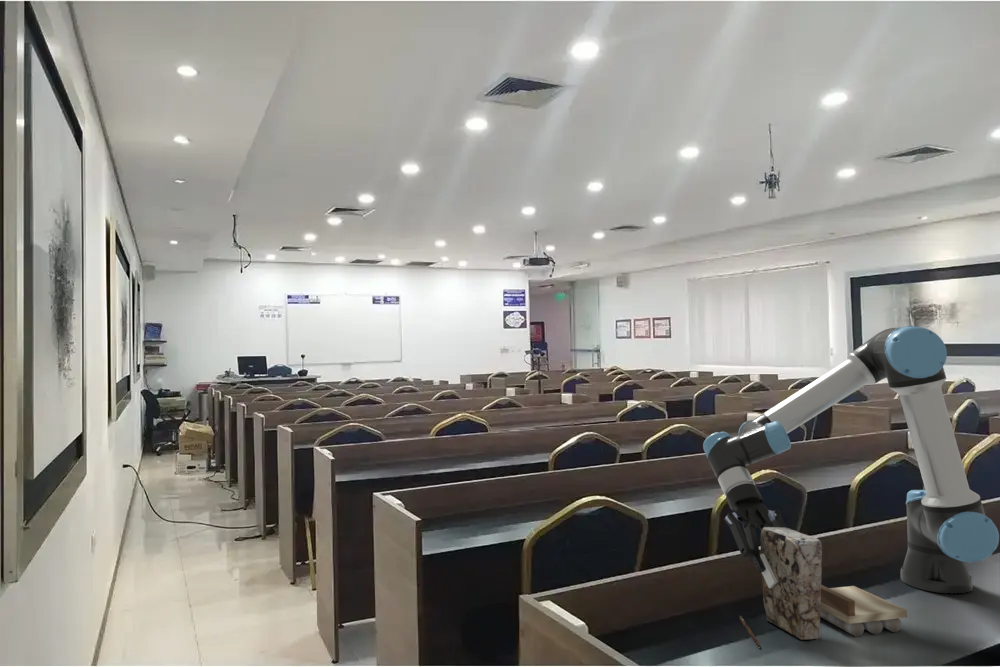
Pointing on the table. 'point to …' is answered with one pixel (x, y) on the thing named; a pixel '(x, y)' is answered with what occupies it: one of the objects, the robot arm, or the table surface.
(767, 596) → the stone block
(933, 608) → the table surface
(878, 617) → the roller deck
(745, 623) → the dark brown thin bar
